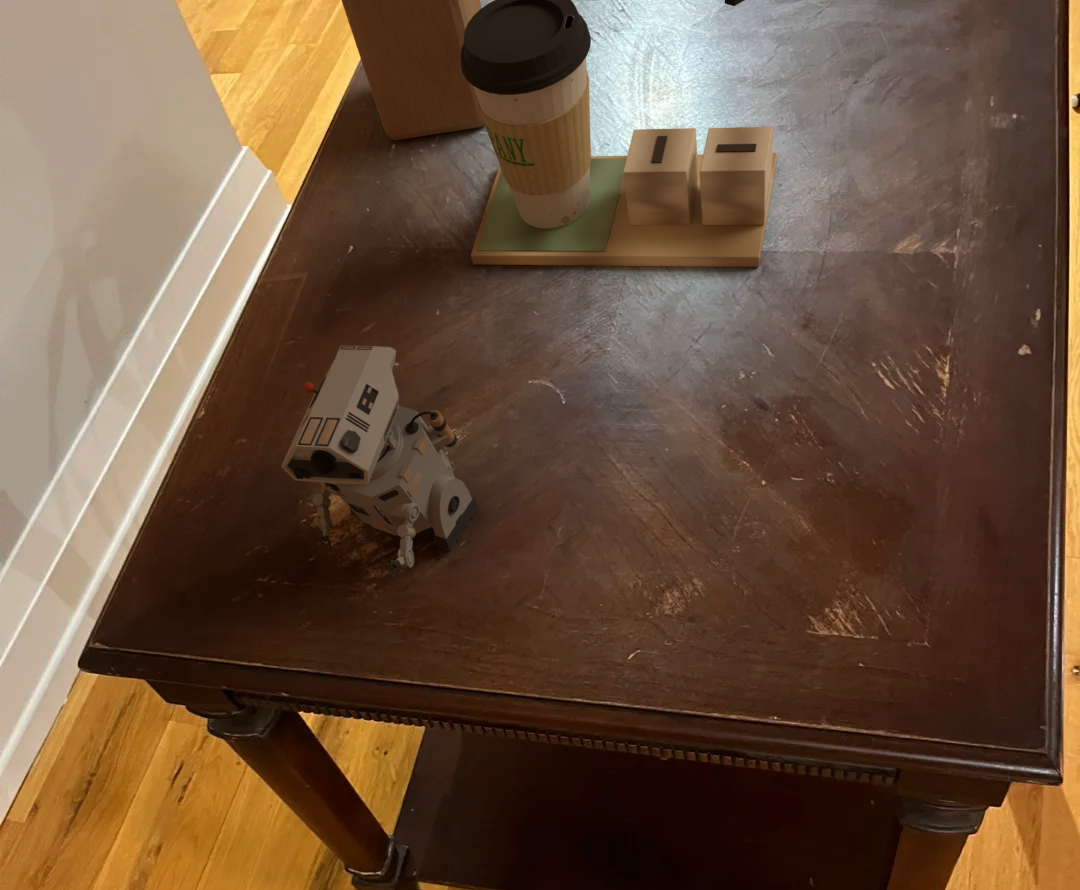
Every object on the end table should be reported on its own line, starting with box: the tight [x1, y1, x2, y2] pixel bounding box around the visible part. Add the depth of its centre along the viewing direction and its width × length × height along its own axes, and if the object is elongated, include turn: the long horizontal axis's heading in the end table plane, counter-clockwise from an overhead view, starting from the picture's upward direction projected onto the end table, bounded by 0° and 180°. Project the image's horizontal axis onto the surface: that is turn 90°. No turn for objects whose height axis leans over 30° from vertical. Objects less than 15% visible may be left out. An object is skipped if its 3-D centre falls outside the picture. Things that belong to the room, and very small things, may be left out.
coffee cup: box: [460, 0, 592, 229], centre depth 86 cm, size 10×10×15 cm
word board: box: [470, 126, 778, 268], centre depth 89 cm, size 24×12×6 cm, turn 78°
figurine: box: [280, 345, 479, 579], centre depth 74 cm, size 9×12×15 cm
